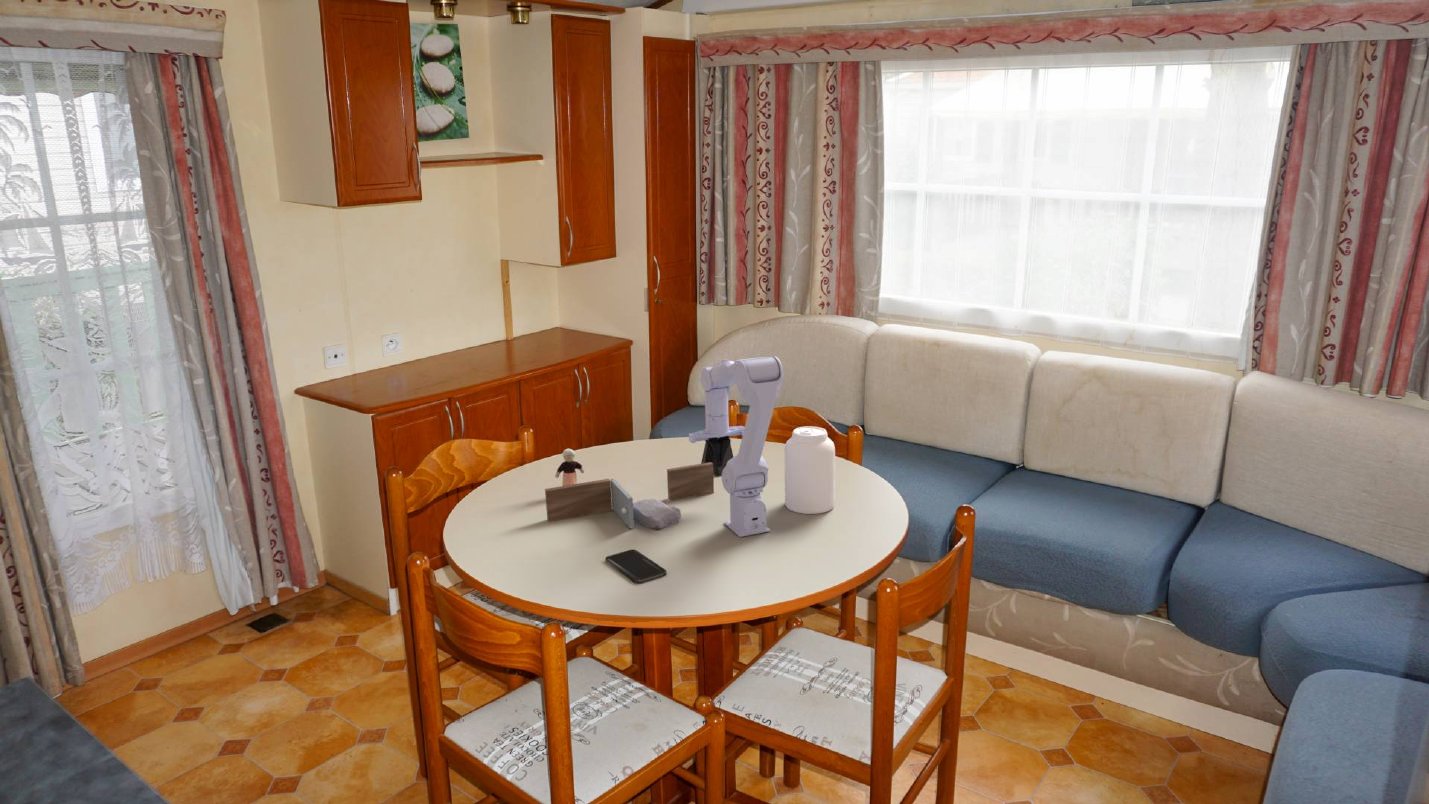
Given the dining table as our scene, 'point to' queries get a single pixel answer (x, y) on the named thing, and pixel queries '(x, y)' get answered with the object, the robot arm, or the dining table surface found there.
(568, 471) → the grandmother figurine
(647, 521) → the stone block
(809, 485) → the can
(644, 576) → the phone
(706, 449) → the phone stand
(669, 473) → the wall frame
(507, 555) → the dining table surface
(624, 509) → the door
